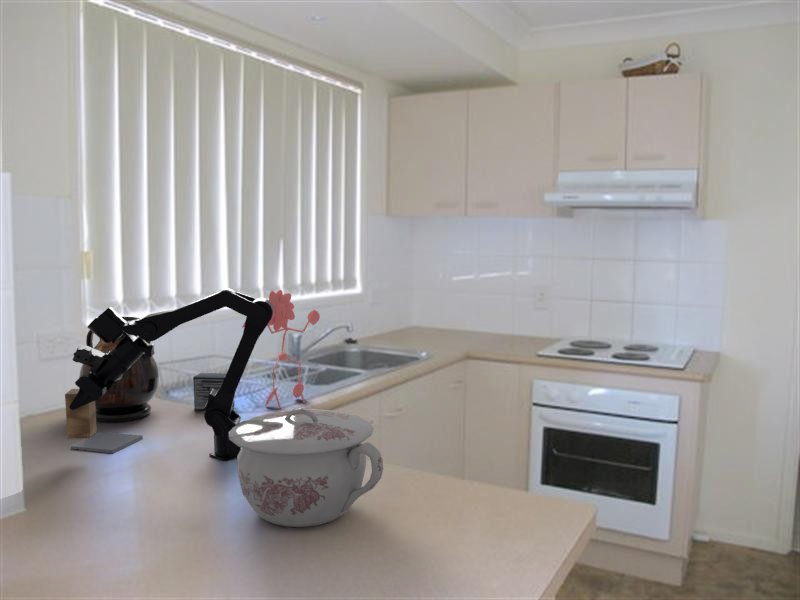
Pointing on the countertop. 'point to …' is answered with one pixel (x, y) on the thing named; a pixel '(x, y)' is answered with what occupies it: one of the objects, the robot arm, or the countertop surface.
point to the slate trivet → (107, 442)
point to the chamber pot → (304, 464)
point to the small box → (206, 387)
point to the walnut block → (80, 418)
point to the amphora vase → (126, 386)
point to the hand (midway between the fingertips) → (74, 405)
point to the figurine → (281, 319)
